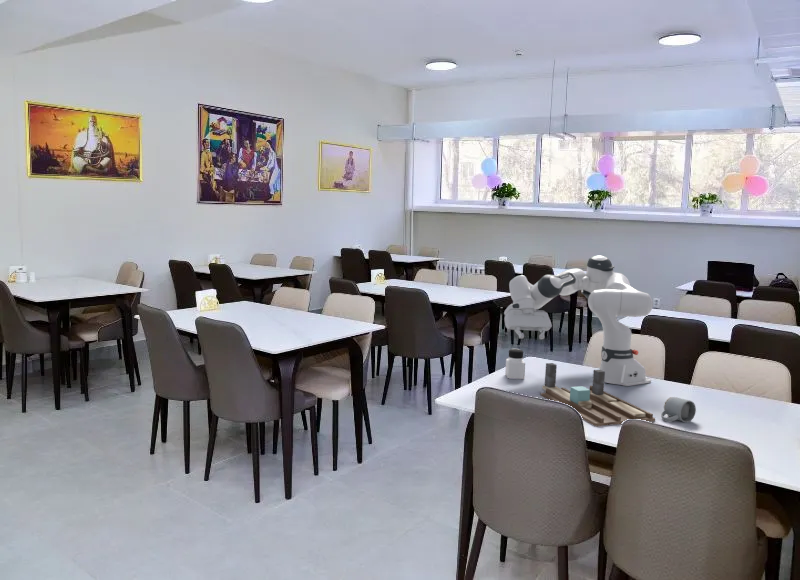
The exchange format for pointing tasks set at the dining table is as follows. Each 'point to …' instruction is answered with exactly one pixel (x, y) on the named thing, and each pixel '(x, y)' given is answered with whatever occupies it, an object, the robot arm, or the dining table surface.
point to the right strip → (550, 384)
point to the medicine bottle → (515, 365)
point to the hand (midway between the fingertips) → (532, 338)
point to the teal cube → (579, 394)
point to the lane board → (600, 409)
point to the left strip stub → (600, 386)
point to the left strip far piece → (629, 409)
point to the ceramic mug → (678, 410)
